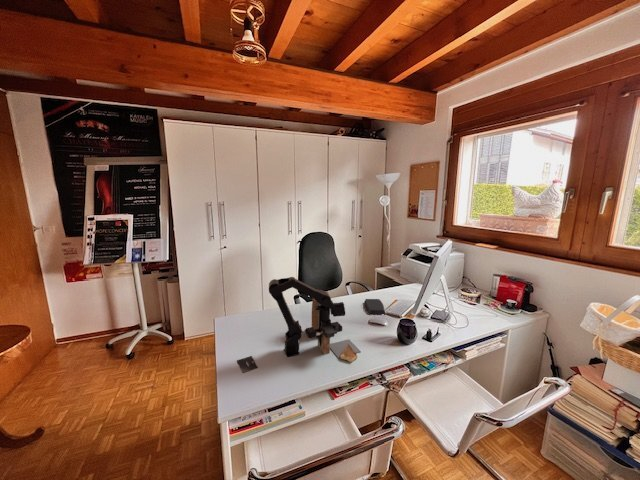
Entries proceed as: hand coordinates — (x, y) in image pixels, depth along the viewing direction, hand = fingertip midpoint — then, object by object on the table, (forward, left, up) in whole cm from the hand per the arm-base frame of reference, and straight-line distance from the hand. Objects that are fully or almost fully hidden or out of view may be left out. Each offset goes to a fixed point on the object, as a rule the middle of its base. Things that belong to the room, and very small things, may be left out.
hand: (323, 344), depth 135 cm
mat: (+10, -3, -2) cm, 11 cm away
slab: (0, 0, -3) cm, 3 cm away
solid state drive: (-38, +3, -3) cm, 38 cm away
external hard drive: (+53, +30, -3) cm, 61 cm away
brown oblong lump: (+5, +15, -3) cm, 16 cm away
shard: (+8, -9, -2) cm, 13 cm away
